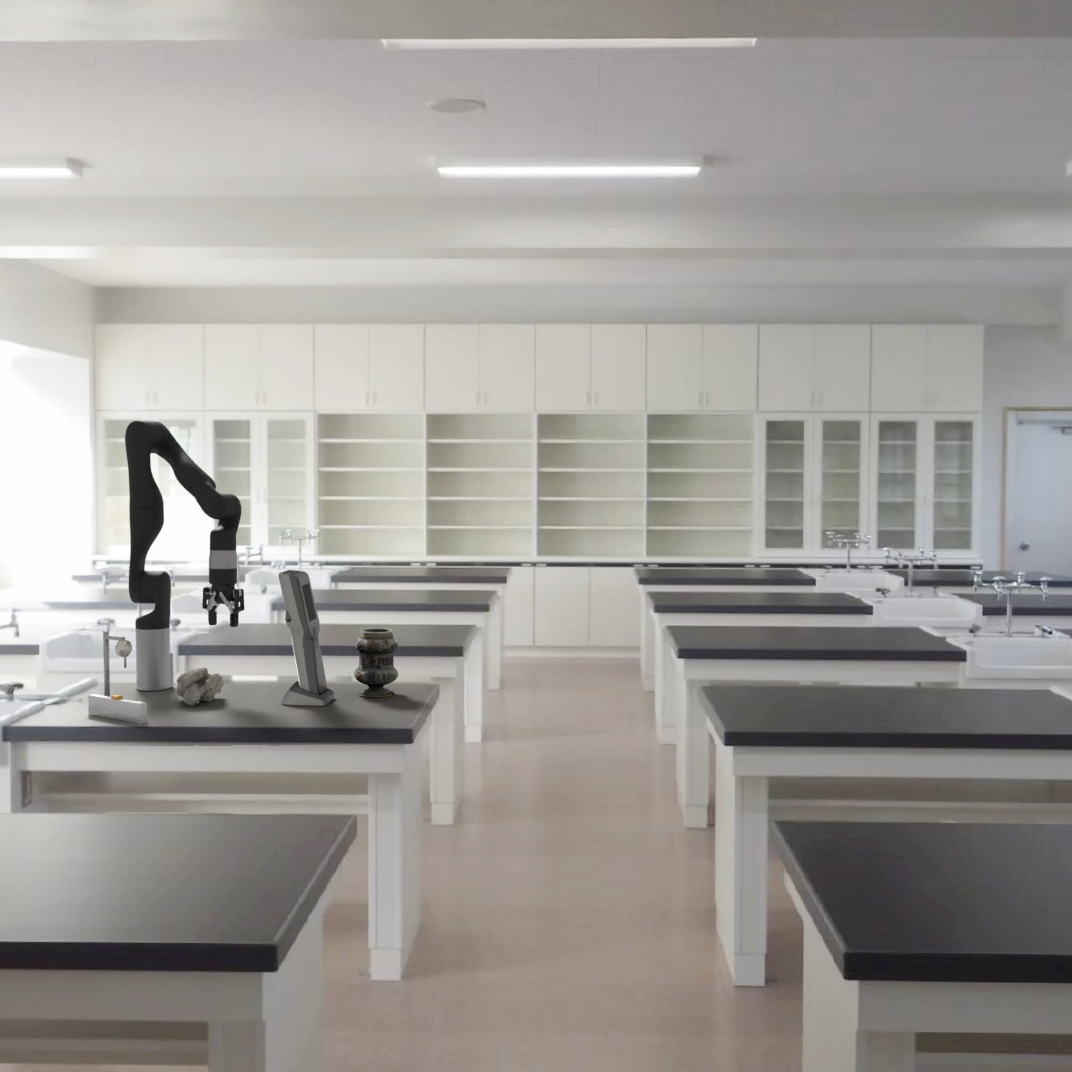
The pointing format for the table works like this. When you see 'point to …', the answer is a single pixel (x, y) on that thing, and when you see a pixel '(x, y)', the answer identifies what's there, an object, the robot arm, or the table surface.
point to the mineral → (198, 686)
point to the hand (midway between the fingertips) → (223, 625)
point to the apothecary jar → (376, 661)
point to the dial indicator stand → (121, 650)
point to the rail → (118, 708)
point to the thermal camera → (304, 642)
